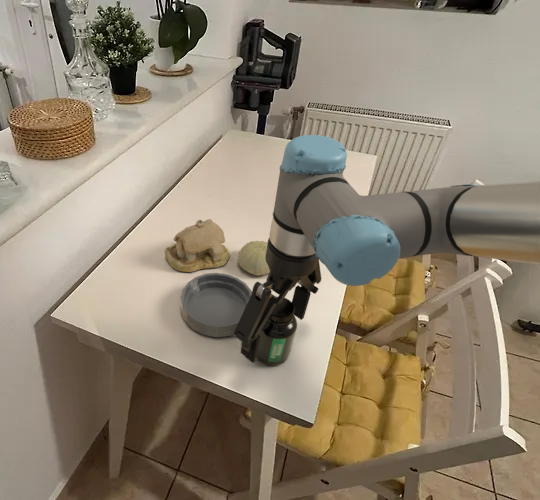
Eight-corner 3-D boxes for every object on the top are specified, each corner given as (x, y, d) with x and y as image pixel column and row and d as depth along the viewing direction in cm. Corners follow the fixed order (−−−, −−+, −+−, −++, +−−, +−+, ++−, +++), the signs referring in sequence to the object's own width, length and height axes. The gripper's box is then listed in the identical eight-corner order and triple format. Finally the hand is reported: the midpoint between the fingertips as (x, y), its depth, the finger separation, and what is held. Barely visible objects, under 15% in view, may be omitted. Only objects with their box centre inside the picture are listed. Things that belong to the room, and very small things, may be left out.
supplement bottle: (280, 373, 75) (292, 329, 67) (245, 356, 77) (252, 311, 70) (294, 346, 79) (307, 301, 71) (260, 330, 82) (269, 286, 74)
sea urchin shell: (226, 260, 94) (244, 228, 94) (240, 266, 101) (256, 237, 101) (261, 280, 90) (280, 246, 89) (272, 285, 96) (290, 254, 96)
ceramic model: (211, 234, 104) (213, 199, 98) (237, 261, 97) (241, 225, 91) (159, 252, 99) (157, 217, 92) (183, 282, 92) (183, 246, 85)
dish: (266, 323, 83) (268, 310, 81) (201, 349, 78) (202, 336, 76) (229, 277, 93) (230, 265, 91) (169, 297, 88) (169, 285, 86)
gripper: (321, 198, 70) (298, 289, 84) (215, 268, 57) (208, 362, 71) (362, 219, 66) (331, 310, 80) (259, 299, 53) (242, 392, 67)
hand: (273, 335), depth 76 cm, fingers open, 13 cm apart
